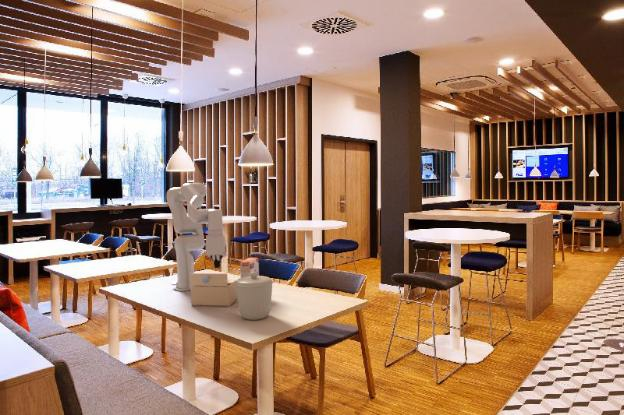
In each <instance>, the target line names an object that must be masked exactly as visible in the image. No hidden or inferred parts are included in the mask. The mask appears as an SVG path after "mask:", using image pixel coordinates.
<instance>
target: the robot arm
mask: <svg viewBox="0 0 624 415" xmlns="http://www.w3.org/2000/svg"><path fill="white" fill-rule="evenodd" d="M206 195H207V188H206V185H205V184H204V183H202V182H188V183H184V184H182V185H181V187H180V186H179V187H172V188H169V189H168V190H167V192H166V203H167V205H168V207H169V209H170V212H171V217H172V223H173V228H174V232H175V233H177V234H182V235H179V236H177V237H176V238H174V242H173V245H174V250H175V255H176V269H177V270H176V271H177V281H172V282H171V285H172V286H175V291H178V292H186V291H191V281H190V273H195V262H194V261H195V260H194V256H193V255H192V254H191V253H190V252H193V251H200V250H203V249H204V247H205V253H206V257H207V258H210V259H212V261H213V266H214V269H219V268H221V264H222V263H221V260H222V259H223V258H224V257H227V256H228V254H227V252H228V251H227V241H226V236H225V235H224V228H223V227H224V226H223V225H224V224H223V211H222V210H221V209H218V208H217V209H215V208H201V207H202V206H203V204H204V202H205V197H206ZM182 202H184V203H185V202H187V207H185V206H184V205H183V204H182ZM186 208H187V209H186ZM202 224H207V230H206V231H205V234H207V236H206V240H205V237H204V230H203V225H202ZM190 233H192V234H190ZM183 234H184V235H183Z"/></svg>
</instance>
